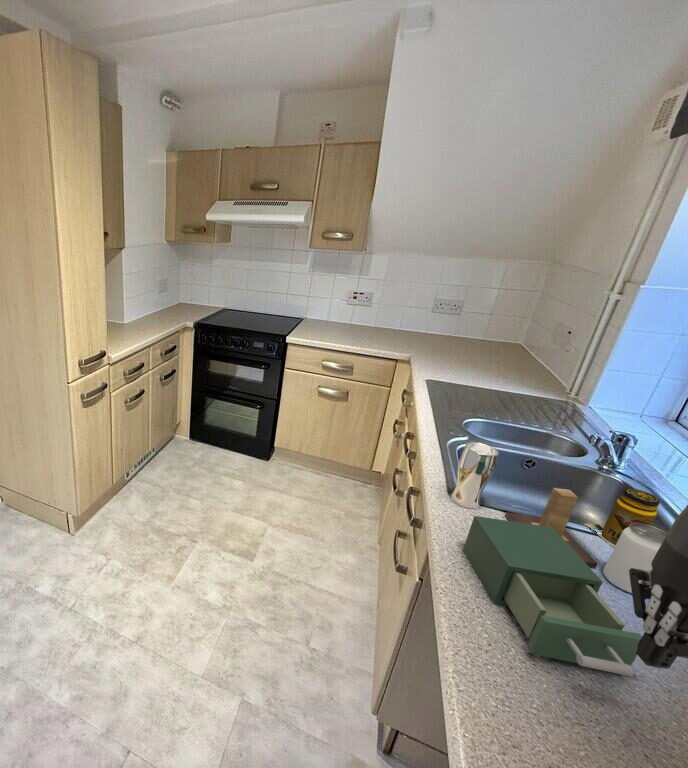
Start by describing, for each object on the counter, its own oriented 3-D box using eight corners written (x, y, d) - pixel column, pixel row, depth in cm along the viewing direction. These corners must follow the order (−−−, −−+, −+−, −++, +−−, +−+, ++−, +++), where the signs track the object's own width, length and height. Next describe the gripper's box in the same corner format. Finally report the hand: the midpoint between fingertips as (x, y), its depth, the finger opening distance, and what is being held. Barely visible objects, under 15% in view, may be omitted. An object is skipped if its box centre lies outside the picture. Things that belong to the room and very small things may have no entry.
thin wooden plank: (553, 523, 96) (555, 519, 95) (595, 568, 83) (598, 563, 82) (504, 516, 98) (506, 511, 97) (538, 558, 85) (540, 554, 85)
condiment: (617, 550, 88) (641, 503, 84) (583, 524, 96) (602, 480, 91) (653, 552, 87) (679, 505, 83) (615, 525, 95) (637, 481, 91)
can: (597, 565, 84) (621, 516, 79) (641, 578, 81) (668, 529, 76) (608, 587, 78) (634, 536, 74) (655, 602, 75) (685, 550, 71)
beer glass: (445, 500, 103) (461, 448, 98) (452, 489, 107) (468, 438, 102) (478, 514, 98) (496, 459, 93) (484, 501, 103) (502, 449, 98)
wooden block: (529, 526, 93) (545, 484, 89) (552, 529, 92) (570, 487, 88) (542, 541, 88) (560, 498, 84) (567, 545, 87) (587, 501, 83)
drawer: (648, 701, 58) (670, 668, 56) (545, 679, 61) (562, 646, 58) (572, 604, 73) (586, 574, 71) (492, 589, 76) (503, 560, 74)
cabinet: (583, 620, 72) (603, 581, 68) (493, 603, 74) (508, 565, 71) (538, 562, 84) (553, 527, 81) (462, 549, 87) (474, 515, 84)
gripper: (832, 610, 39) (739, 726, 45) (703, 521, 51) (643, 623, 57) (734, 593, 41) (656, 708, 47) (630, 511, 53) (580, 611, 59)
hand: (649, 661), depth 52 cm, fingers closed
